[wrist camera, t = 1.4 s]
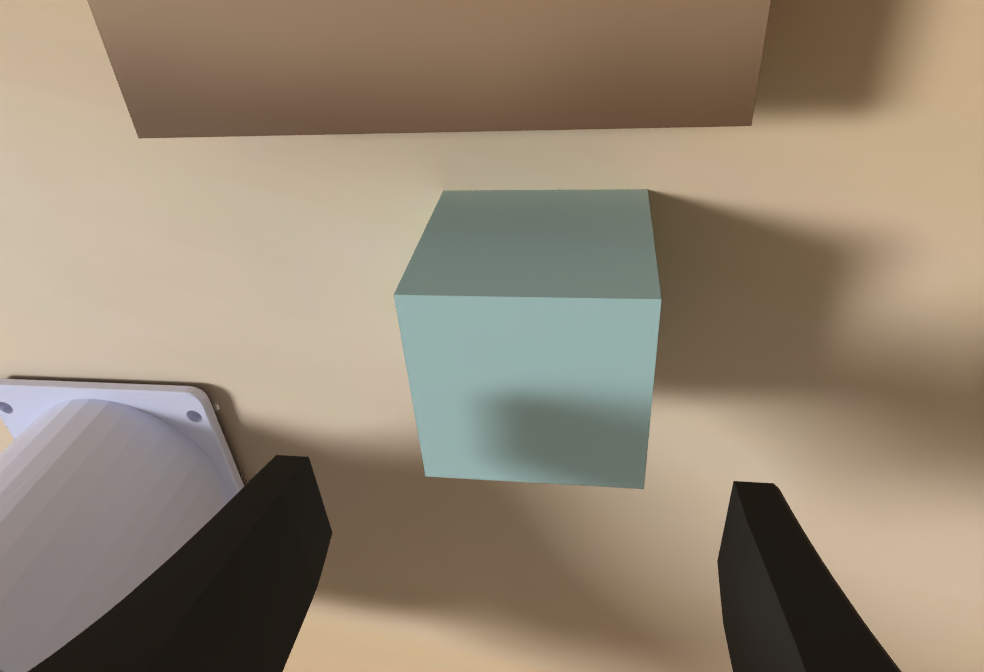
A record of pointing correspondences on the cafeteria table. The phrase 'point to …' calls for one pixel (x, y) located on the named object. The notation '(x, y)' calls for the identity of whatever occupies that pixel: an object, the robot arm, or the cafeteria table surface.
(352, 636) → the cafeteria table surface
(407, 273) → the teal cube
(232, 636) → the robot arm
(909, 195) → the cafeteria table surface
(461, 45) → the walnut base
